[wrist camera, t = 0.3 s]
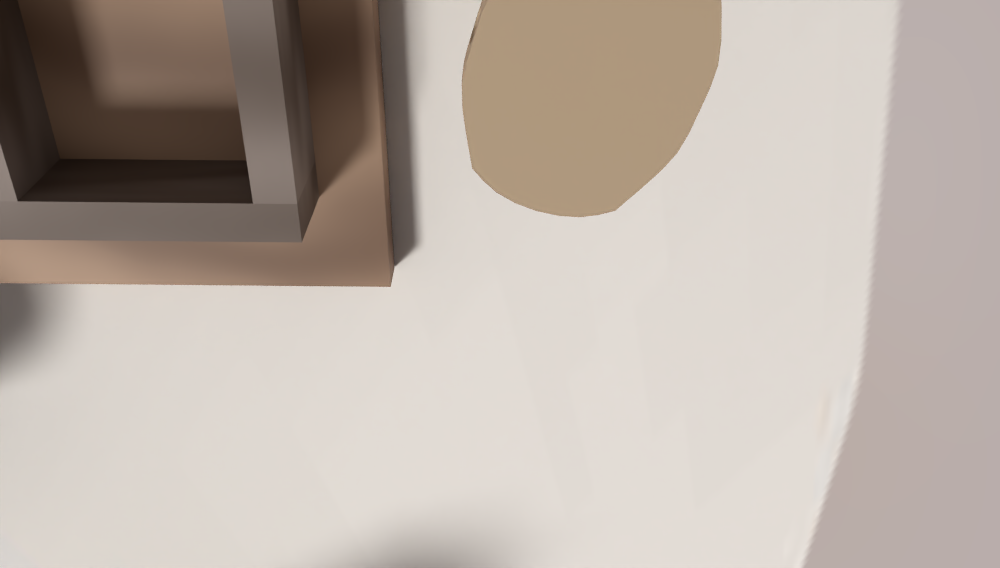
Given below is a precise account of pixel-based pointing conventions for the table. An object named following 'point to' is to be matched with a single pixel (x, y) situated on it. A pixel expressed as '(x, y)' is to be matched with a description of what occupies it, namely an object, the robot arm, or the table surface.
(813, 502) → the table surface
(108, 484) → the table surface
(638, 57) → the handle
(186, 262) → the holder
